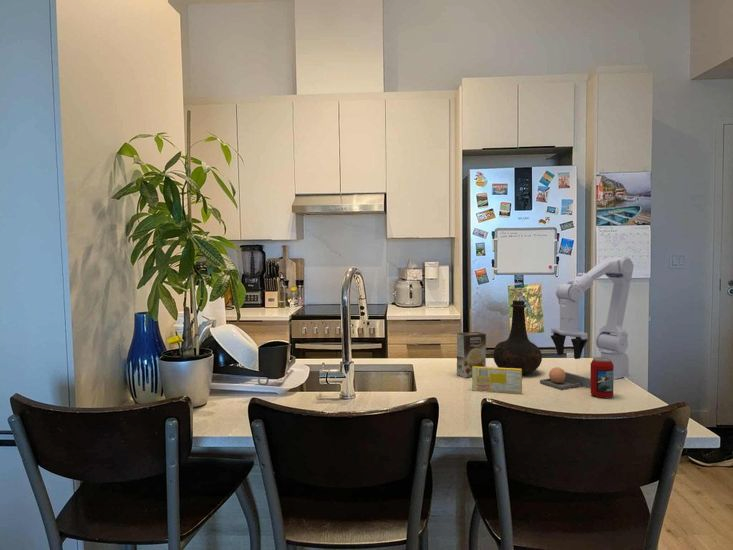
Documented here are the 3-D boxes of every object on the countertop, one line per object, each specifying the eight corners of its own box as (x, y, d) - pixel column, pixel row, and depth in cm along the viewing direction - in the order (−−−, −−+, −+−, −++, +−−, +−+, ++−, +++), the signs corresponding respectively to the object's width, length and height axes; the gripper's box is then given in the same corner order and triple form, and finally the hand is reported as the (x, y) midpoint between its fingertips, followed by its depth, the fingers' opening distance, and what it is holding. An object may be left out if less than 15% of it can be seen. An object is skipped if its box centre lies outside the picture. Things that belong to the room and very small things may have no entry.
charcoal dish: (558, 380, 188) (558, 376, 188) (581, 386, 179) (581, 383, 179) (539, 383, 184) (539, 380, 184) (561, 390, 175) (561, 386, 175)
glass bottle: (488, 367, 208) (487, 298, 207) (532, 366, 209) (532, 297, 208) (501, 379, 191) (501, 303, 189) (549, 377, 191) (549, 302, 190)
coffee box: (464, 378, 192) (464, 335, 191) (456, 374, 198) (456, 332, 197) (486, 376, 195) (486, 333, 194) (477, 372, 201) (477, 331, 200)
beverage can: (603, 400, 163) (604, 362, 162) (585, 394, 169) (585, 358, 168) (618, 396, 166) (618, 359, 165) (599, 391, 172) (600, 356, 171)
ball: (560, 383, 185) (555, 368, 187) (571, 379, 180) (565, 364, 182) (549, 385, 182) (543, 370, 184) (559, 382, 178) (554, 366, 180)
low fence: (556, 377, 191) (556, 369, 191) (592, 387, 177) (592, 379, 177) (554, 378, 191) (554, 369, 191) (590, 388, 176) (590, 379, 176)
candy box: (522, 393, 173) (522, 368, 172) (521, 394, 171) (521, 369, 170) (472, 389, 178) (472, 365, 178) (472, 391, 176) (471, 366, 176)
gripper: (544, 316, 186) (544, 354, 187) (576, 321, 173) (576, 361, 174) (559, 315, 190) (559, 352, 190) (591, 319, 176) (591, 359, 177)
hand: (568, 356), depth 182 cm, fingers open, 7 cm apart
